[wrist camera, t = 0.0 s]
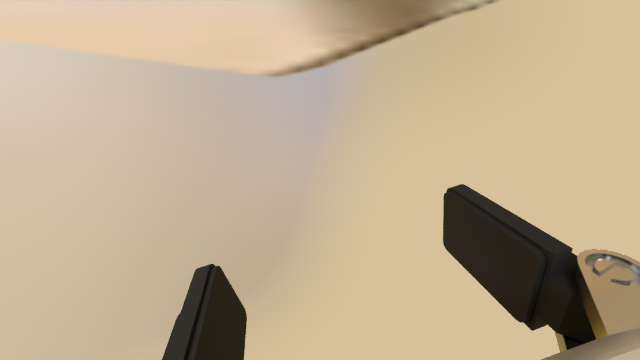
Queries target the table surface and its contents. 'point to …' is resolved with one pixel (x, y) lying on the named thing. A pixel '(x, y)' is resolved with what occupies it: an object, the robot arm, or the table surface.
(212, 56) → the table surface
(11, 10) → the table surface
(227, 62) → the table surface
